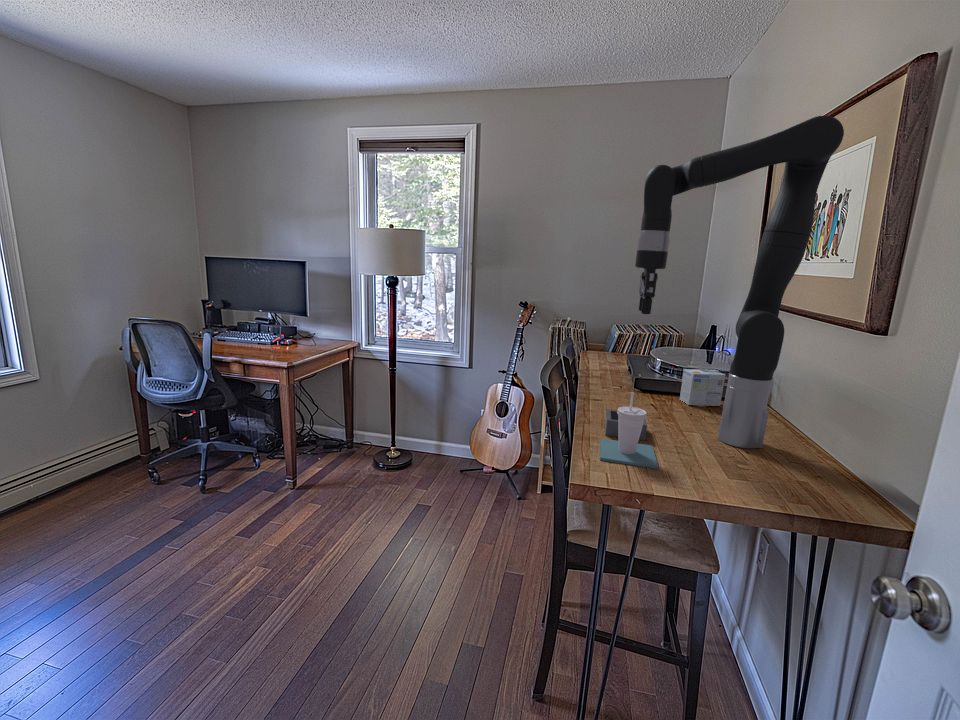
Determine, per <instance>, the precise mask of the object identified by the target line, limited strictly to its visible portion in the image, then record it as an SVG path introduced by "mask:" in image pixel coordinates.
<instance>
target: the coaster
mask: <svg viewBox="0 0 960 720" xmlns="http://www.w3.org/2000/svg"><path fill="white" fill-rule="evenodd" d="M599 445H600V446H599V460H600V461H604V462H610V463H617V464H623V465H629V466H636V467H642V468H650V469H657V470H659V464H658V461H657V457H656V454H655V450H654V447H653V444H652V445H651V444H644V443H638V444H637V448H636V451H635V453H634V454H624V453H622V452H620V451H619V450H618V440H615V439H609V438H602V437H600V439H599Z"/></svg>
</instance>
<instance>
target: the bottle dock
mask: <svg viewBox="0 0 960 720" xmlns="http://www.w3.org/2000/svg"><path fill="white" fill-rule="evenodd" d="M617 411H618V409H617V410H616V409H612V408H611V409H609V408H607V409H606V413H605V421H604V432H605V433H604V435H605V436H608V437H617V438H618V414H617ZM647 427H648V424H647V420H646V418H645V419H644V423H643V427H642V430H641V434H640V437H639V441H646V436H647V429H648V428H647Z"/></svg>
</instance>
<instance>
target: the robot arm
mask: <svg viewBox="0 0 960 720" xmlns="http://www.w3.org/2000/svg"><path fill="white" fill-rule="evenodd" d="M844 135H845V128H844V126H843V124H842V122H841V121H840V120H839V119H838V118H836V117H835V116H834V117H833V116H831V115H817V116H814V117H811V118H810V119H809V118H808V119H807V120H805V121H802V122H800V123H798V124H795V125H793V126H791V127H789V128H786V129H784V130H782V131H778V132H777V133H774V134H772V135H771V134H770V135H768V136H766V137H762V138H760V139H756V140H754V141H753V140H752V141H751V142H747V143H743V144H741V145H737V146H736V145H735V146H733V147H729V148H725V149H721V150H718V151H714V152H710V153H708V154H704V155H701V156H697V157H694V158H691V159H690V160H688V162H686V163H683V164H680V165H677V166H673V167H671V166H669V165H667V164H659V165H656V166H654V167H653V168H651V169H650V170H649V171H648V172H647V174H646V177H645V181H644V188H643V190H644V191H643V213H642V218H641V226H640V231H639V236H638V239H637V240H638V241H637V248H636V256H635V257H636V258H635V265H634V266H635V267H636V268H639V269H643V270H644V271H642V272H641V275H640V277H639V282H640V283H639V291H638V292H639V297H640V298H639V305H638V311H640V312H641V314H643V315H650V314H651V313H652V304H653V300H654V298H655V297H656V290H657V283H658V279H659V277H658V276H659V275H658V273H657V270H664V269H666V268H667V260H668V255H669V247H670V231H671V227H672V226H671V225H672V218H673V217H672V216H673V215H672V213H673V212H672V203H673V197H674V196H677V195H680V194H683V193H685V192H688V191H691V190H693V189H698V188H702V187H707V186H711V185H715V184H719V183H724V182H726V181H729V180H732V179H735V178H738V177H740V176H741V177H742V176H744V175H745V174H749V173H751V172H753V171H758V170H759V169H763V168H767V167H770V166H775V165H778V164H783V163H785V164H784V170H783V176H782V180H781V185H780V188H779V191H778V193H777V196H776V198H775V201H774V203H773V206H772V207H771V211H770V213H769V216H768V218H767V222H766V224H765V227H764V229H763V233H762V237H761V239H760V240H761V241H760V244H759V247H758V251H757V256H756V260H755V264H754V269H753V274H752V279H751V285H750V288H749V291H748V294H747V297H746V299H745V301H744V305H743V307H742V309H741V312H740V313H739V316H738V318H737V321H736V323H735V335H736V337H737V342H736V348H735V353H734V357H733V359H732V361H731V363H730V367H729V374H728V379H727V385H726V390H725V396H724V401H723V406H722V414H721V418H720V423H719V429H718V435H717V438H718V441H721V442H723V443H725V444H727V445H730V446H734V447H737V448H743V449H762V448H763V445H764V444H763V443H764V439H765V434H766V430H767V424H768V419H769V415H770V411H769V410H768V409H767V407H768V402H769V397H770V393H771V386H772V383H773V376H774V374H775V371H776V370H777V368H778V364H779V360H780V356H781V351H782V348H783V343H784V339H785V326H784V325H785V324H784V322H783V321H782V319H781V318H779V315H780V310H781V305H782V302H783V301H782V300H783V297H784V294H785V292H786V290H787V288H788V286H789V284H790V282H791V281H792V279H793V277H794V276H795V274H796V272H797V270H798V269H799V267H800V265H801V263H802V261H803V258H804V256H805V253H806V251H807V247H808V244H809V241H810V238H811V237H810V236H811V234H812V230H813V226H814V219H815V218H814V217H815V211H816V210H815V209H816V199H817V193H818V188H819V187H820V186H819V185H820V183H821V180H822V178H823V175H824V172H825V170H826V167H827V165H828V163H829V161H830V159H831V158H832V156H833V154H834V153H835V152H836V151H837V150H838V149H839V147H840V145H841V144H842V142H843V138H844Z"/></svg>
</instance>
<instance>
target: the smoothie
mask: <svg viewBox="0 0 960 720" xmlns="http://www.w3.org/2000/svg"><path fill="white" fill-rule="evenodd" d="M634 395H635V392H634V391H631V393H630V400H629V405H628V406H627V405H626V406H619V407H618V408H617V410H618V411H617V414H618V437H617V439H618V440H617V441H618V450H619V451H620V452H622V453H624V454H634V453H635V451H636V448H637V444H639V441H640V440H639V437H640V434H641V430H642V427H643V423H644V419H645V420H646V419H647V417H648V416H647V415H648V413H647V411H646V410H644V409H642V408H639V407H635V406H633V402H634Z"/></svg>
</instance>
